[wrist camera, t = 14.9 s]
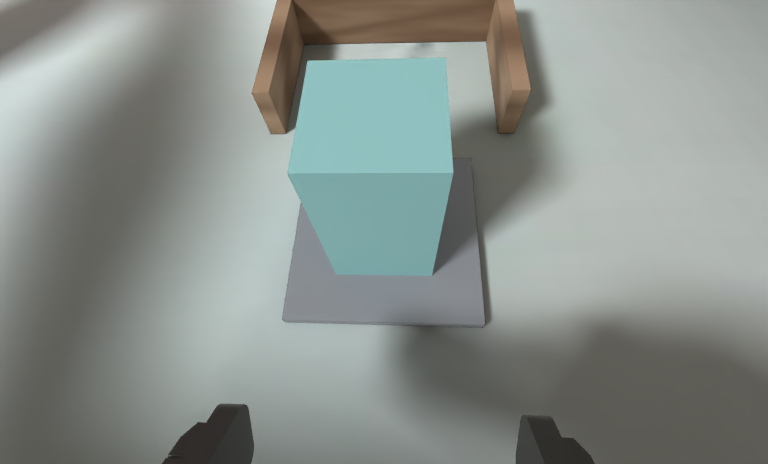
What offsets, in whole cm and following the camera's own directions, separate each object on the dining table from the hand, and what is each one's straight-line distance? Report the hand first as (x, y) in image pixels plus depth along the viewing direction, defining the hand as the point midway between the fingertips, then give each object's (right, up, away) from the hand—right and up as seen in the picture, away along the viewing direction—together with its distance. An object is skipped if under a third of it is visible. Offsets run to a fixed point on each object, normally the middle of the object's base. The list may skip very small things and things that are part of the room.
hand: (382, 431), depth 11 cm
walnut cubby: (+1, +16, +15) cm, 22 cm away
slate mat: (0, +6, +10) cm, 11 cm away
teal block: (0, +6, +9) cm, 11 cm away
